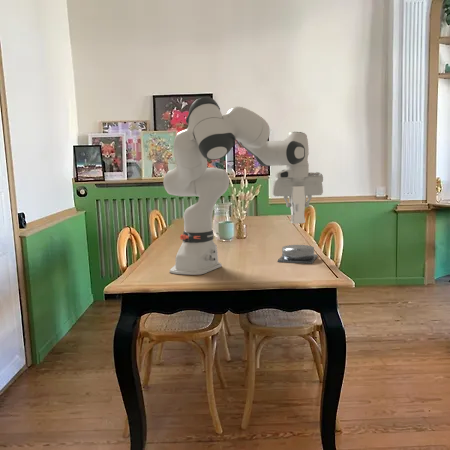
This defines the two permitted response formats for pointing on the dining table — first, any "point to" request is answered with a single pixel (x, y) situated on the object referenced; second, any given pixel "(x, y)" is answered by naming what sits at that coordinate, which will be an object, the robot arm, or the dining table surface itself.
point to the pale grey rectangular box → (297, 204)
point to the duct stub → (298, 254)
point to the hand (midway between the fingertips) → (297, 206)
